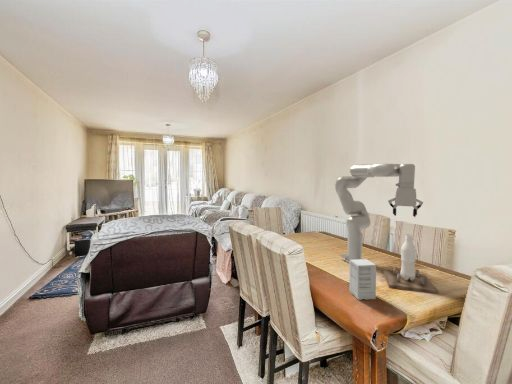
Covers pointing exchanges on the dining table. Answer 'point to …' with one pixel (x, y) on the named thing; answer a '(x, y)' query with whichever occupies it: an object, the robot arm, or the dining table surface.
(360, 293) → the supplement box
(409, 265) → the water bottle
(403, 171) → the robot arm
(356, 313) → the dining table surface
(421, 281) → the peg stand
